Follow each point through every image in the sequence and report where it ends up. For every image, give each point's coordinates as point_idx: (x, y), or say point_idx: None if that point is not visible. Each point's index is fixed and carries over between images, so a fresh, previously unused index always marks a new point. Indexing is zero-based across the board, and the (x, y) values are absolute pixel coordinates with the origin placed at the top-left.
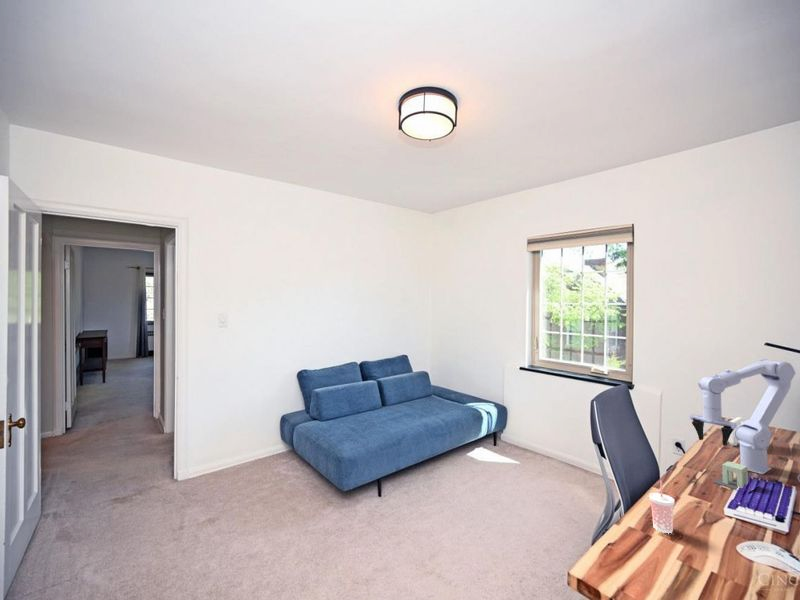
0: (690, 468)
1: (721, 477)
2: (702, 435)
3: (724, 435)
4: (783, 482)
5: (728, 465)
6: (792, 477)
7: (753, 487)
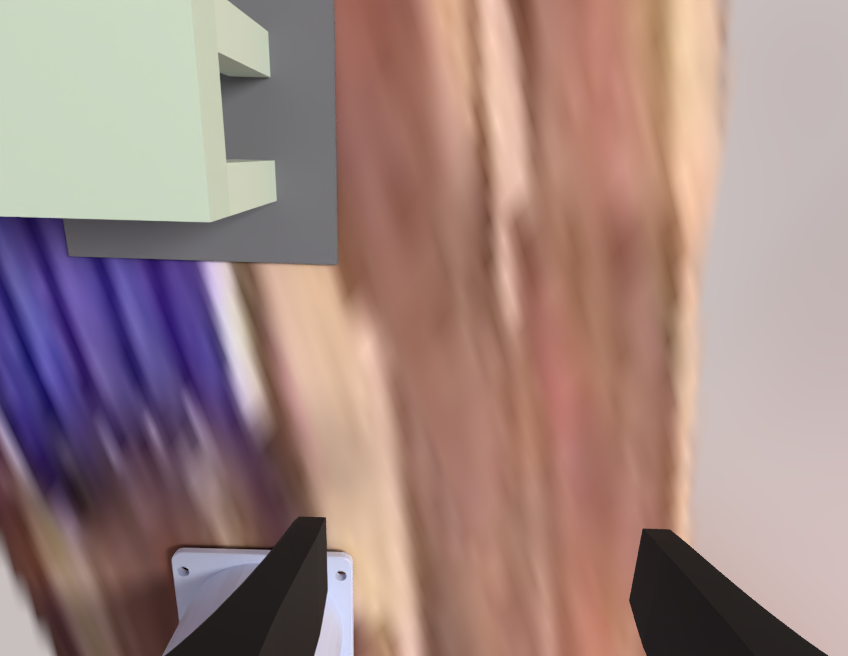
0: (607, 214)
1: (329, 180)
2: (663, 643)
3: (212, 654)
4: (33, 502)
5: (118, 5)
6: (53, 647)
7: None
